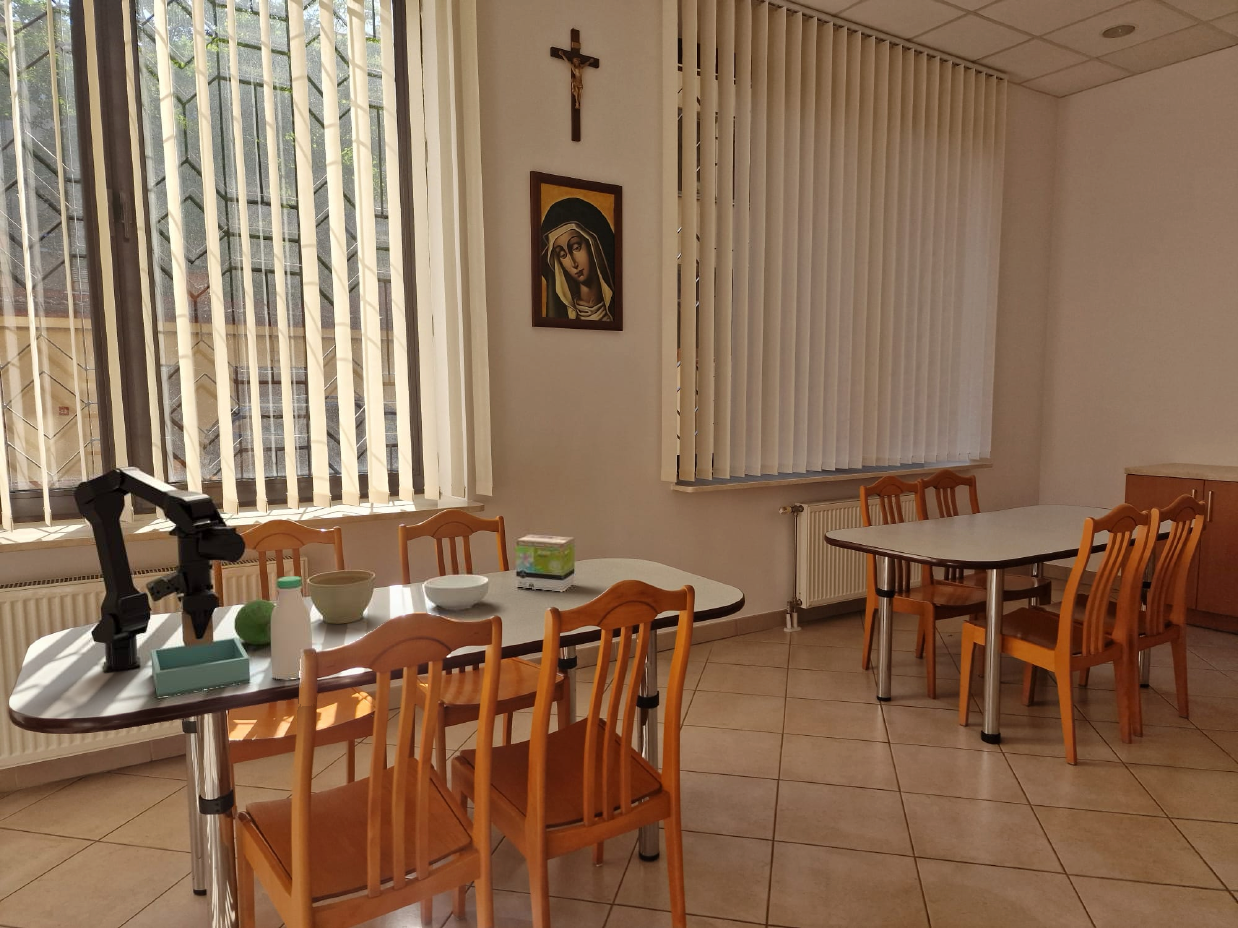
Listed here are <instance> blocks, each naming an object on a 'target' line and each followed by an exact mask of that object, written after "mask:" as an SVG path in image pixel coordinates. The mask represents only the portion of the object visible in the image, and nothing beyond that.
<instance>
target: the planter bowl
mask: <svg viewBox="0 0 1238 928" xmlns="http://www.w3.org/2000/svg"><path fill="white" fill-rule="evenodd" d="M375 578H376V574H375V573H374V572H372V571H367V570H362V569H361V570H358V569H354V570H353V569H345V570H334V571H329V572H322V573H318V574H316V575H312V576H310V577H309V578H307V586H308V592H309V597H310V599H311V602H312V604H313V606H314V608H315V609H316V610H317V612H318V613H319V614H320V615H321V616H322V619H323V622H325V623H327V624H338V625H339V624H348V623H353V622H356V621H358V620H361V619H362V618H363V617H364V612H365V611H366V609H367V608H368V607H369V604H370V603H371V600H372V598H373V594H374V591H375V590H374V589H375V580H376V579H375Z"/></svg>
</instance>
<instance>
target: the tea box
mask: <svg viewBox="0 0 1238 928" xmlns="http://www.w3.org/2000/svg"><path fill="white" fill-rule="evenodd" d="M515 583H516V584H515V585H516V588H517V587H524V588H523V589H526V588H532V589H531V590H536V589H547V590H564V589H566V588H567V587H569V586H570V585H572V584H574V585H575V537H569V536H557V535H555V536H554V535H542V534H541V535H540V534H530V533H529V534H527V535H525V536H523V537H522V538H519V539H516V540H515ZM525 587H526V588H525Z"/></svg>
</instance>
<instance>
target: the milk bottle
mask: <svg viewBox="0 0 1238 928" xmlns="http://www.w3.org/2000/svg"><path fill="white" fill-rule="evenodd" d="M302 585H303V581H302V577H300V576H293V575H291V576H283V577H280V578H278V579H277V580H276V587H277V592H278V595H277V601H276V603H275V604H274V605H275V607H274V609H273V612H272V616H271V642H270V651H271V652H270V653H271V654H270V655H271V675H272V677H273V679H275V678H276V679H275V680H277V679H291V678H299V671H300V659H301V650H302V649H306V648H312V649H313V635H312V634H313V633H312V620H311V613H310V609H309V607H308V605H307V604H306V602H305V600H304V598H303V595H302V588H303V587H302Z"/></svg>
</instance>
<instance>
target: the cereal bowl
mask: <svg viewBox="0 0 1238 928" xmlns="http://www.w3.org/2000/svg"><path fill="white" fill-rule="evenodd" d="M489 583H490V581H489V579H488V578H487V577H486V576H482V575H476V574H450V575H443V576H437V577H433V578H430V579H428V580H426V581H424V583H423V587H424V588H423V589H424V593H425V597H426V598H427V599H428V600H429V601H430V602H431V603H432V604H434V605H436V606H440V607H443V608H442V609H444V608H446V609H445V610H448V609H449V611H459V610H460V611H461V610H465V609H466V608H467V609H470V608H471V607H472V606H473V605H475V604H477V603H479V602H481V601H483V599H484V598H485V597H486V596H487V594H488V592H489Z"/></svg>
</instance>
